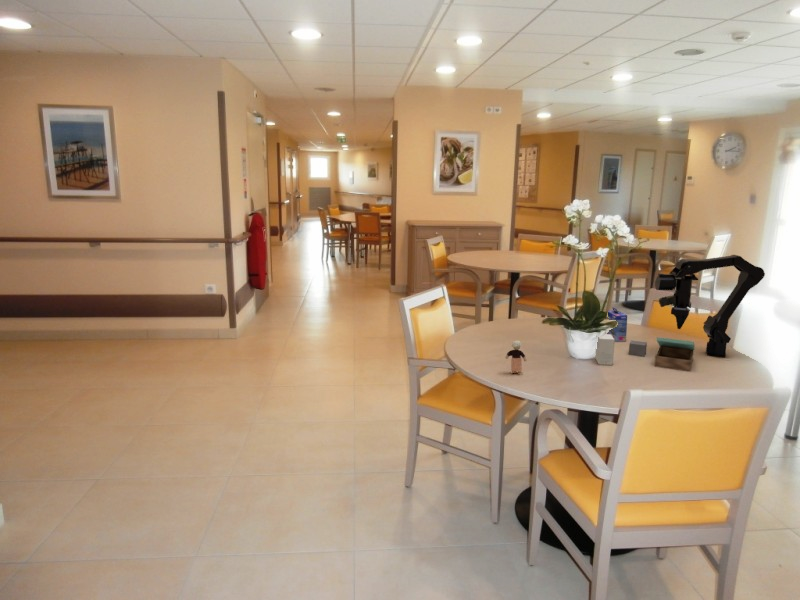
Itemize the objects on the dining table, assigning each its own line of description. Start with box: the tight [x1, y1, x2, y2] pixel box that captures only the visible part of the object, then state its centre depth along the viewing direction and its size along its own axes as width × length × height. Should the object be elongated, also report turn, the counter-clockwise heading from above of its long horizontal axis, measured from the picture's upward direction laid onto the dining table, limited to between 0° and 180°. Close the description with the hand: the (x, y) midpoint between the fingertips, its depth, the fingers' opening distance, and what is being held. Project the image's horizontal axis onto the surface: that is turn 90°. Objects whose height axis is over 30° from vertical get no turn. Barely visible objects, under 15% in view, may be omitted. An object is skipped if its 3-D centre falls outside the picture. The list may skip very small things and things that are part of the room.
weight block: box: [628, 340, 648, 358], centre depth 219 cm, size 6×5×5 cm
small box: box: [594, 333, 615, 366], centre depth 209 cm, size 8×6×10 cm
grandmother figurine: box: [504, 340, 527, 375], centre depth 197 cm, size 8×4×13 cm, turn 80°
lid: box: [656, 336, 695, 351], centre depth 207 cm, size 13×16×1 cm
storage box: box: [654, 346, 694, 372], centre depth 208 cm, size 12×16×4 cm
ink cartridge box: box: [607, 307, 628, 342], centre depth 241 cm, size 10×6×14 cm, turn 5°
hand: (679, 327), depth 217 cm, fingers open, 4 cm apart
